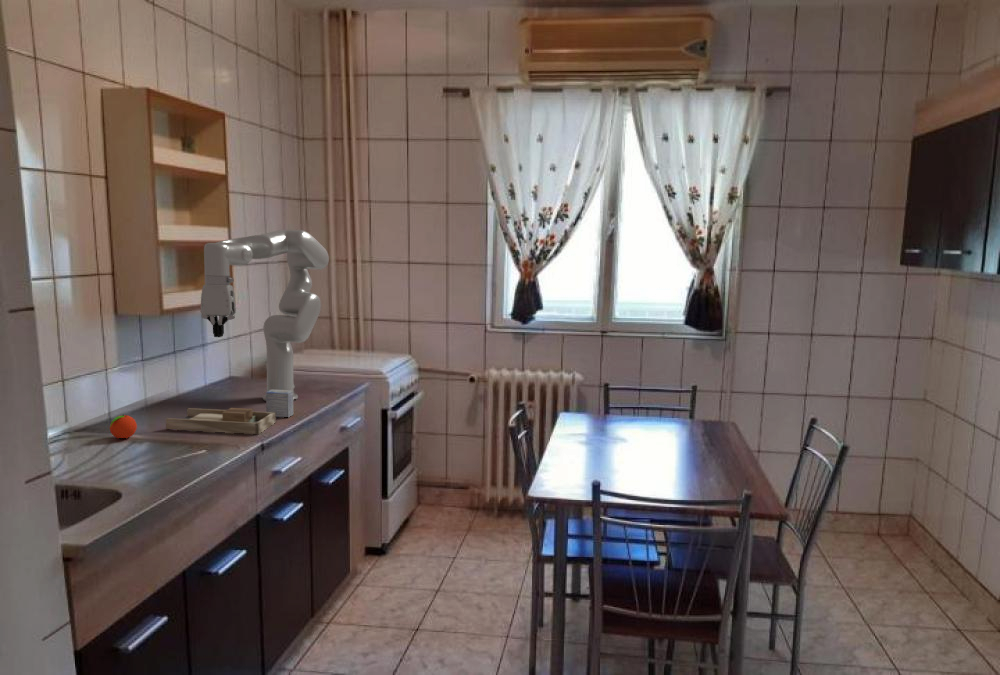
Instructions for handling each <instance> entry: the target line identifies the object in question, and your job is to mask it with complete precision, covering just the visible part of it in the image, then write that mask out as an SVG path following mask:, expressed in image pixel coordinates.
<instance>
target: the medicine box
mask: <svg viewBox="0 0 1000 675" xmlns="http://www.w3.org/2000/svg"><path fill="white" fill-rule="evenodd" d="M293 393H294V390H293V391H290V390H269V391H268V392H267V391H266V392H265V394H266V401H265V402H266V406H265V408H266V410H265V412H275V413H276V418H284V417H288V418H291V417H292V416H293V415H294V400H293ZM290 416H291V417H290ZM288 418H287V419H288Z"/></svg>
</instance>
